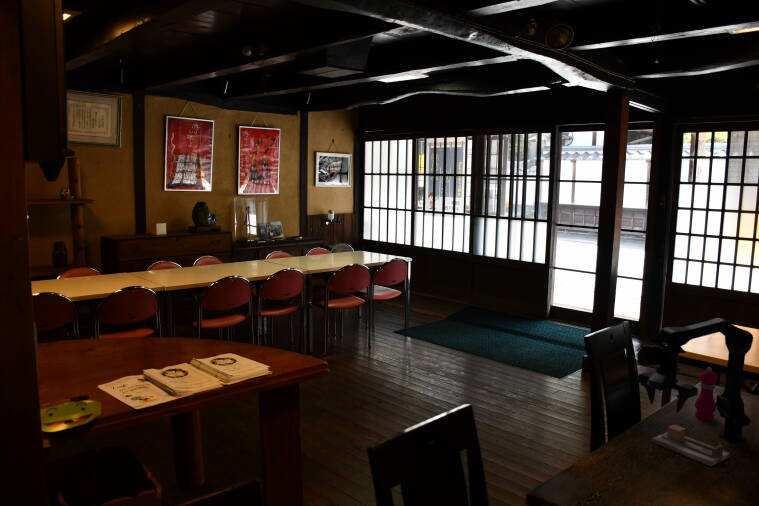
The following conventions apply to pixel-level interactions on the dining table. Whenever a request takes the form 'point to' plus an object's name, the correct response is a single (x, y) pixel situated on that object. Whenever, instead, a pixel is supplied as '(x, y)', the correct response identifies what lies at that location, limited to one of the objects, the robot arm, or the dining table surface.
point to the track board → (693, 449)
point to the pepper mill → (706, 396)
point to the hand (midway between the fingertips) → (664, 408)
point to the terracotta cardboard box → (676, 433)
